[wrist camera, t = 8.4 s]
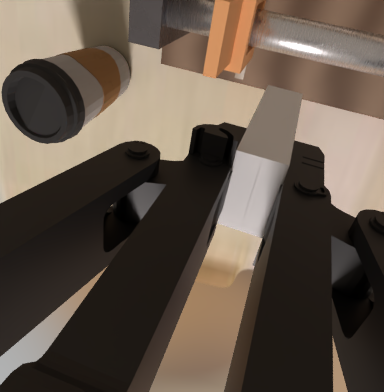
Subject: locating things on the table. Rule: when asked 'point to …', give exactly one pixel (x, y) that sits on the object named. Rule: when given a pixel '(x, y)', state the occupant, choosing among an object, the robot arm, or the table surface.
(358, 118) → the table surface
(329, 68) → the base board
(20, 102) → the coffee cup
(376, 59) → the pipe
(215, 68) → the orange slotted block
